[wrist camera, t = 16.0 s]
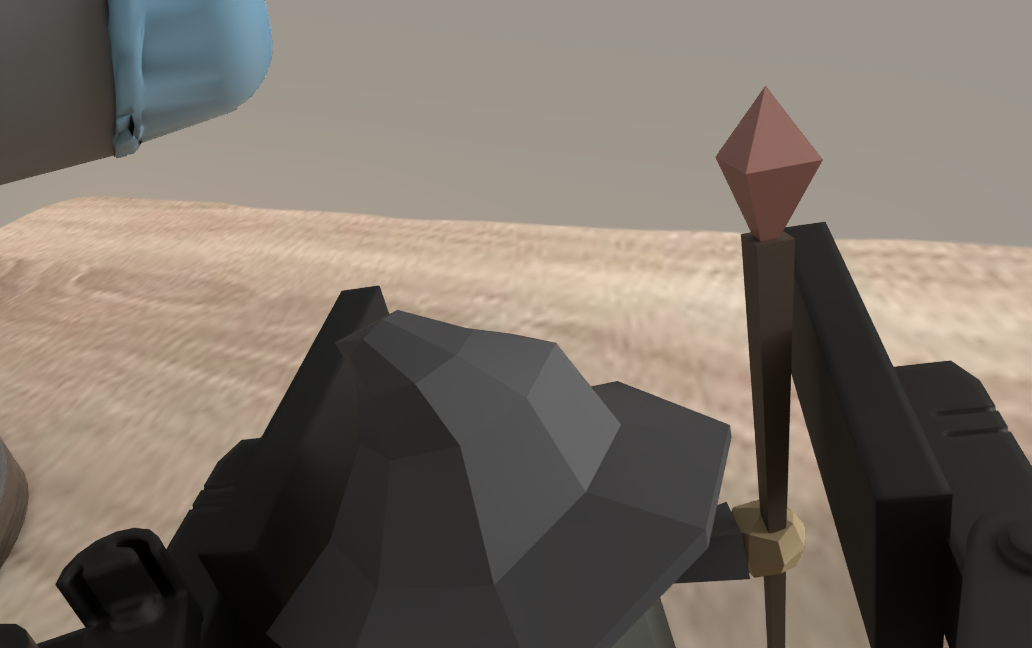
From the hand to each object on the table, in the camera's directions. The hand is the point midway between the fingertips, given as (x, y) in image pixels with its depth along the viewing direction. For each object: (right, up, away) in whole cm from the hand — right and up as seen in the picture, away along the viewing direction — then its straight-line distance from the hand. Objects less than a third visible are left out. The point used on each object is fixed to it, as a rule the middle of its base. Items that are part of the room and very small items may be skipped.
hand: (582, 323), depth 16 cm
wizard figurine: (+1, -9, 0) cm, 9 cm away
